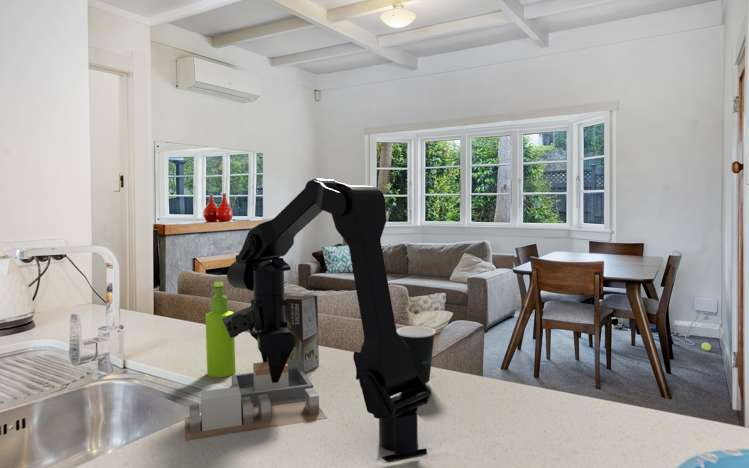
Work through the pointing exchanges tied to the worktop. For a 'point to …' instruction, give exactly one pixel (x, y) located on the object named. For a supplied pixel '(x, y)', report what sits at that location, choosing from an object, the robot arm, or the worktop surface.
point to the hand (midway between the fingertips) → (271, 374)
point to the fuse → (220, 408)
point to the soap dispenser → (219, 337)
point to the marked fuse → (268, 377)
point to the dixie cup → (419, 347)
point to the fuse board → (259, 415)
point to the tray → (295, 389)
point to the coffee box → (303, 330)
